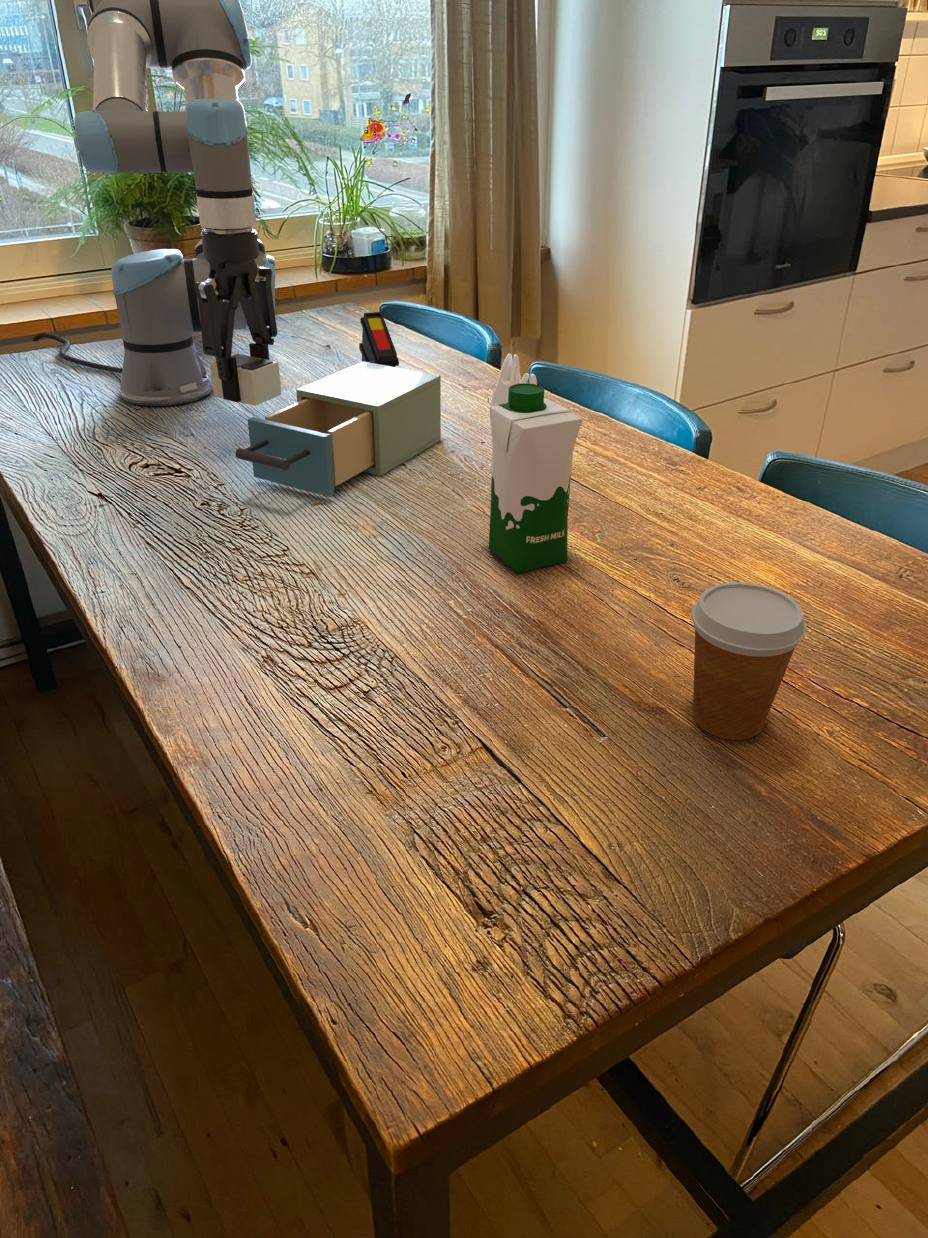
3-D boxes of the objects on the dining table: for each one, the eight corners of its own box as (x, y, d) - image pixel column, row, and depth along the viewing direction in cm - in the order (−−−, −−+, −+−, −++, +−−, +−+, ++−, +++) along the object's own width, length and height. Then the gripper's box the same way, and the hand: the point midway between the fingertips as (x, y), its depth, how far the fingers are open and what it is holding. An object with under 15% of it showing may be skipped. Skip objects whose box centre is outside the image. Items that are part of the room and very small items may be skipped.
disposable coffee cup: (662, 690, 87) (679, 581, 81) (759, 686, 88) (783, 577, 82) (692, 755, 79) (713, 639, 73) (798, 750, 80) (828, 634, 74)
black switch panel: (376, 379, 165) (382, 310, 152) (394, 431, 158) (402, 363, 146) (355, 380, 164) (360, 311, 151) (373, 433, 157) (379, 365, 145)
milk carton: (539, 533, 116) (548, 377, 105) (578, 563, 109) (593, 400, 99) (478, 547, 112) (482, 387, 102) (515, 579, 106) (523, 412, 95)
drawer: (302, 512, 118) (297, 450, 114) (225, 491, 124) (217, 431, 119) (393, 459, 134) (391, 403, 130) (321, 442, 139) (317, 388, 135)
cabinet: (380, 476, 131) (378, 406, 126) (301, 456, 137) (295, 389, 132) (440, 440, 144) (440, 375, 138) (365, 424, 150) (362, 361, 144)
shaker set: (488, 414, 154) (490, 348, 148) (511, 411, 156) (513, 346, 150) (518, 438, 145) (521, 368, 139) (542, 435, 146) (546, 366, 140)
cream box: (214, 396, 137) (209, 361, 134) (241, 385, 141) (236, 351, 138) (255, 405, 134) (251, 370, 131) (281, 394, 138) (278, 360, 135)
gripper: (253, 216, 133) (269, 372, 146) (157, 236, 119) (183, 407, 132) (294, 221, 130) (306, 380, 143) (200, 242, 116) (223, 417, 129)
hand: (247, 393), depth 137 cm, fingers closed on cream box, 6 cm apart
